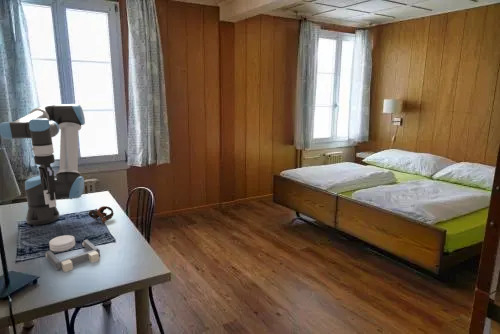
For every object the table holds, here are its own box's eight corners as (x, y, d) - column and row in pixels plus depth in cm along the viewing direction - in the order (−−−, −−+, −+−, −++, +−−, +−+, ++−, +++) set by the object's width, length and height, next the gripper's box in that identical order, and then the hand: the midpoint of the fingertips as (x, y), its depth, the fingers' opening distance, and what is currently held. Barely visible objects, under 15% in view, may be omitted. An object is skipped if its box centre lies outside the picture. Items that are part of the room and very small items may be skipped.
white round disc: (48, 245, 149) (47, 238, 149) (73, 240, 155) (72, 232, 154) (51, 254, 141) (50, 247, 141) (77, 248, 147) (76, 240, 146)
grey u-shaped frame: (45, 256, 139) (44, 250, 139) (86, 244, 150) (85, 238, 150) (60, 273, 127) (59, 266, 126) (103, 258, 138) (102, 252, 137)
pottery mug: (111, 215, 185) (114, 205, 181) (111, 228, 178) (114, 218, 174) (87, 213, 180) (90, 202, 175) (86, 227, 173) (89, 216, 169)
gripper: (28, 152, 149) (35, 202, 155) (39, 158, 137) (47, 212, 142) (47, 150, 155) (53, 198, 160) (60, 156, 142) (66, 208, 148)
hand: (50, 205), depth 151 cm, fingers open, 5 cm apart
